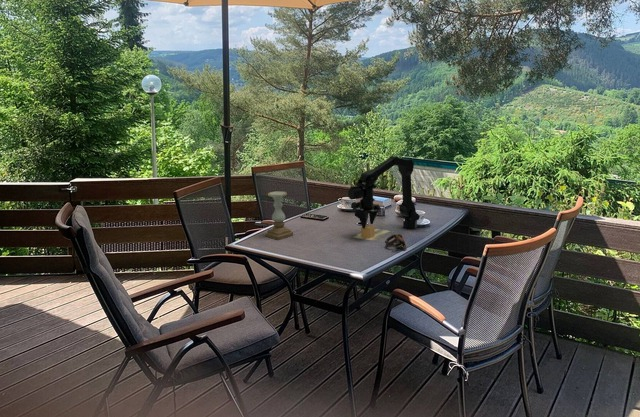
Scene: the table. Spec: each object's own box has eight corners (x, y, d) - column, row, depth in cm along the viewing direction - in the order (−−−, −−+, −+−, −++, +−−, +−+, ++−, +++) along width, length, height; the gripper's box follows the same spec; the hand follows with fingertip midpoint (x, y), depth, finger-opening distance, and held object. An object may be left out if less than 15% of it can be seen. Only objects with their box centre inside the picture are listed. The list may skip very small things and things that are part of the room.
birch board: (390, 232, 264) (390, 230, 263) (375, 242, 247) (375, 240, 247) (369, 229, 270) (369, 228, 270) (352, 239, 254) (352, 237, 253)
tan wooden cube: (374, 235, 255) (374, 225, 254) (370, 238, 251) (370, 228, 249) (365, 234, 258) (365, 224, 257) (361, 237, 253) (360, 227, 252)
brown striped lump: (405, 253, 230) (397, 240, 229) (389, 259, 236) (380, 246, 234) (411, 240, 240) (402, 227, 238) (395, 246, 245) (386, 233, 243)
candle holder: (280, 232, 271) (278, 190, 265) (293, 235, 263) (291, 192, 258) (265, 236, 263) (262, 193, 258) (278, 240, 256) (275, 196, 250)
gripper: (361, 192, 261) (361, 220, 265) (345, 199, 246) (345, 228, 249) (380, 194, 255) (380, 222, 259) (365, 201, 240) (365, 231, 244)
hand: (367, 226), depth 253 cm, fingers open, 9 cm apart
